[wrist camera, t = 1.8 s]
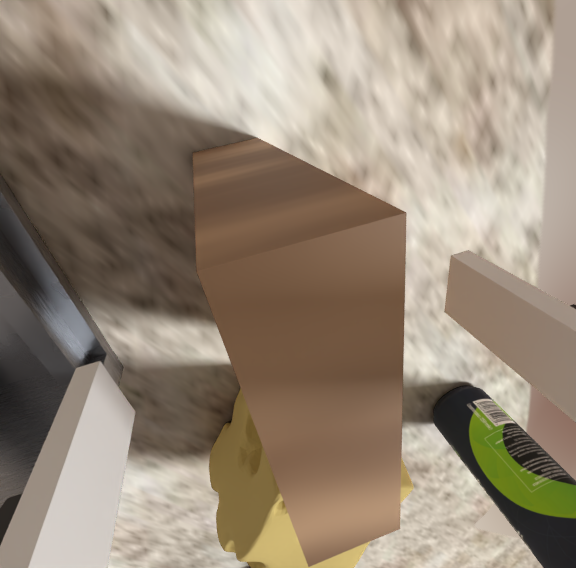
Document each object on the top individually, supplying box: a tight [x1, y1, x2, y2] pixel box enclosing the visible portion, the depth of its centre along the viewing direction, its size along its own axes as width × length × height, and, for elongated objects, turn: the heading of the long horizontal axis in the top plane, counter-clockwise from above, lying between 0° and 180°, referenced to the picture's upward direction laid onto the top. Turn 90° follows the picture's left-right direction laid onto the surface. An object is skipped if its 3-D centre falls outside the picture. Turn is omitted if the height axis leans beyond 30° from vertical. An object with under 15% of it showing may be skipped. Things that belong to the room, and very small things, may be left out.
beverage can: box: [434, 386, 576, 568], centre depth 28 cm, size 6×6×15 cm
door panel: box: [193, 138, 406, 567], centre depth 14 cm, size 12×4×14 cm, turn 10°
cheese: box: [209, 388, 413, 568], centre depth 24 cm, size 10×11×10 cm
